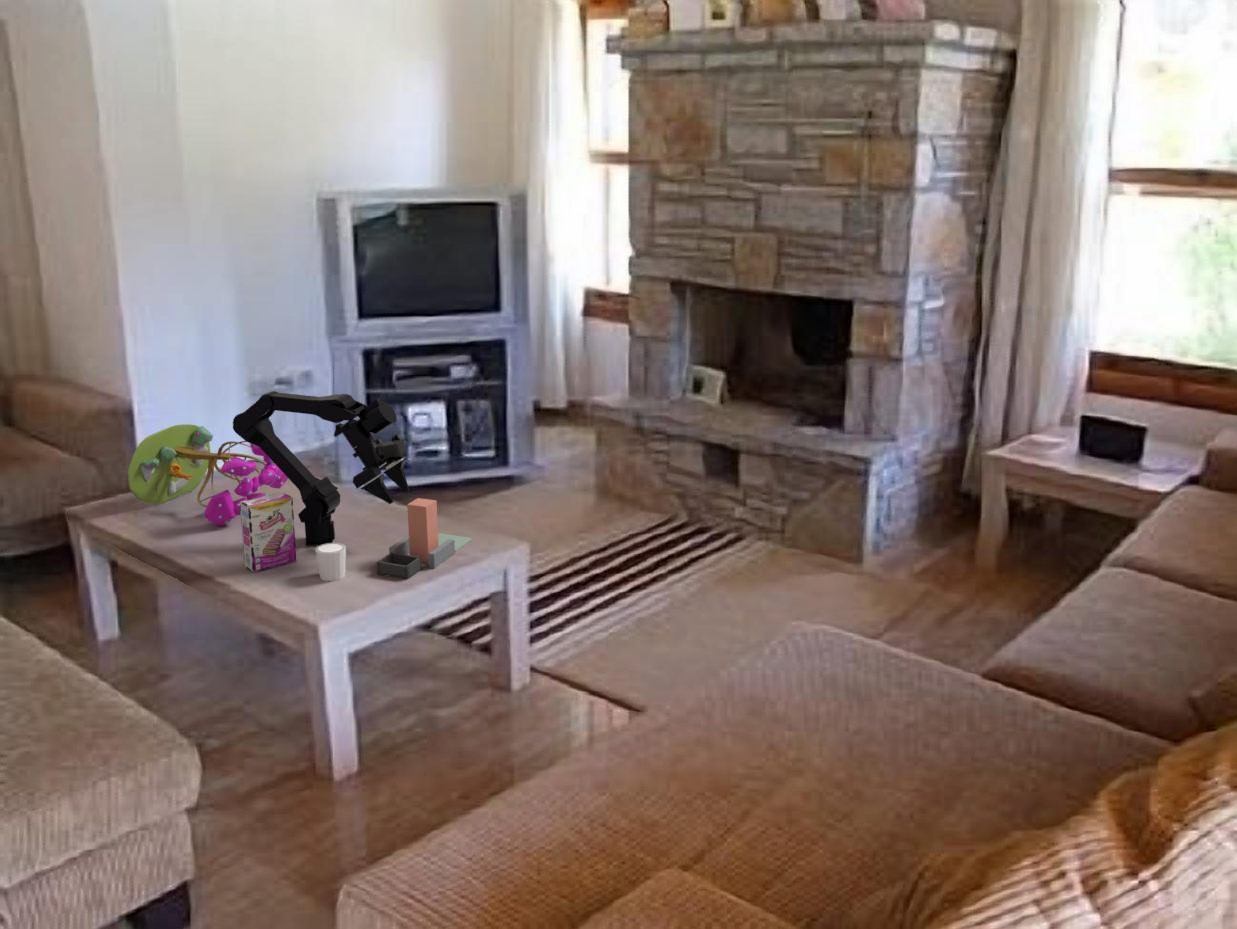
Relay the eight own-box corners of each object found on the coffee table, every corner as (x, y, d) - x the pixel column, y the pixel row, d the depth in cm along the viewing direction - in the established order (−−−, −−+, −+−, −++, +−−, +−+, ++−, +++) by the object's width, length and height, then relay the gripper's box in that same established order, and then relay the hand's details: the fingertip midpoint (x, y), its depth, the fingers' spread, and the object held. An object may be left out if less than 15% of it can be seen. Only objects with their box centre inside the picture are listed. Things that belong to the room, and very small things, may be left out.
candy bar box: (254, 574, 267) (248, 506, 262) (244, 567, 271) (238, 501, 266) (298, 561, 275) (293, 496, 270) (288, 556, 278) (282, 491, 273)
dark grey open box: (377, 574, 268) (376, 562, 267) (392, 564, 273) (391, 552, 273) (407, 579, 265) (407, 566, 264) (422, 569, 271) (421, 557, 270)
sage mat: (419, 545, 285) (419, 545, 285) (437, 533, 293) (437, 533, 293) (455, 551, 282) (455, 550, 282) (472, 538, 290) (472, 538, 290)
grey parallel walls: (389, 561, 275) (389, 547, 274) (411, 547, 284) (410, 533, 283) (434, 568, 271) (434, 554, 270) (454, 553, 280) (454, 540, 279)
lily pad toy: (201, 385, 316) (298, 419, 302) (220, 471, 332) (314, 508, 318) (112, 437, 294) (212, 476, 280) (137, 526, 310) (233, 568, 296)
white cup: (319, 570, 269) (317, 542, 267) (349, 570, 270) (347, 541, 268) (314, 582, 263) (312, 553, 261) (345, 581, 263) (343, 552, 261)
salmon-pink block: (410, 560, 276) (407, 504, 272) (420, 552, 281) (418, 498, 277) (428, 562, 275) (426, 507, 270) (438, 555, 279) (436, 500, 275)
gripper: (371, 436, 265) (409, 493, 267) (404, 416, 282) (439, 470, 284) (335, 459, 269) (373, 515, 271) (370, 438, 286) (405, 490, 288)
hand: (399, 497), depth 278 cm, fingers open, 9 cm apart
